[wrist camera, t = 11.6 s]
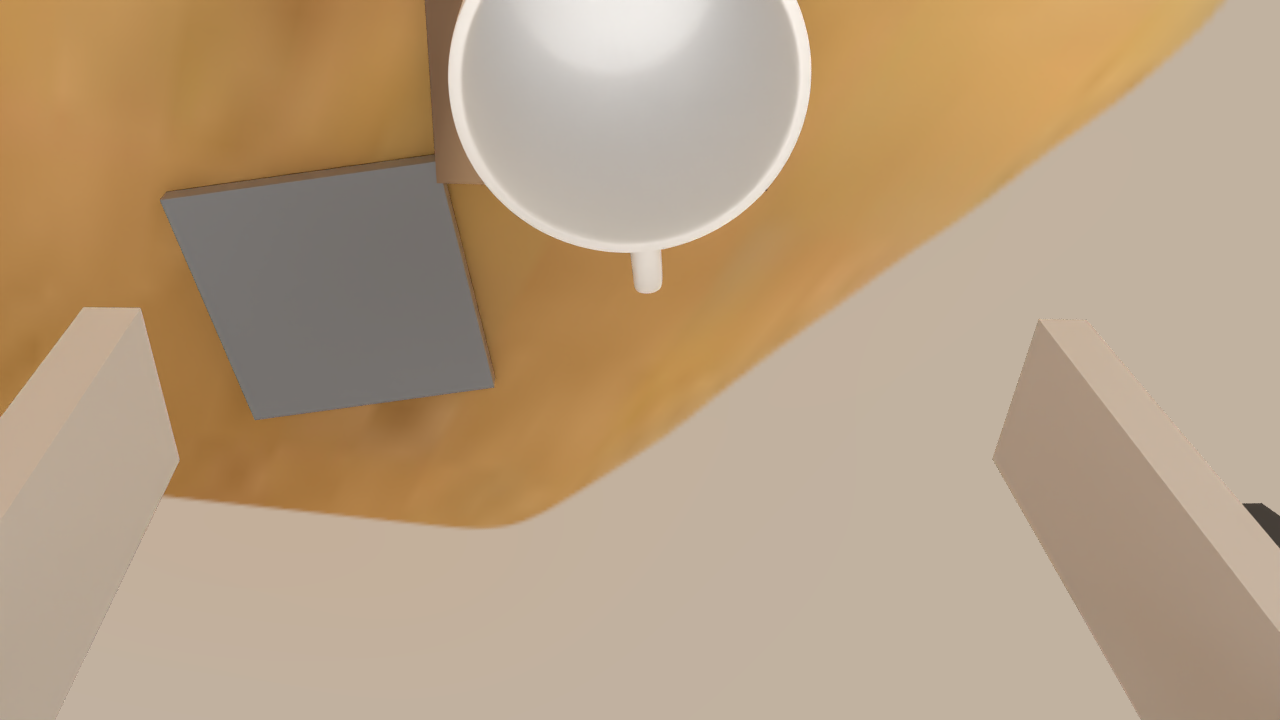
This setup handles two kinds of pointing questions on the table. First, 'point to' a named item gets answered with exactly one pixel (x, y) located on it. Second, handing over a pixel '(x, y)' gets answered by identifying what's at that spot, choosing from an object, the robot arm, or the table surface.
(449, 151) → the walnut coaster
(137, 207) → the table surface
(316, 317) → the slate coaster
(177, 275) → the table surface
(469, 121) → the mug
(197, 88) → the table surface
